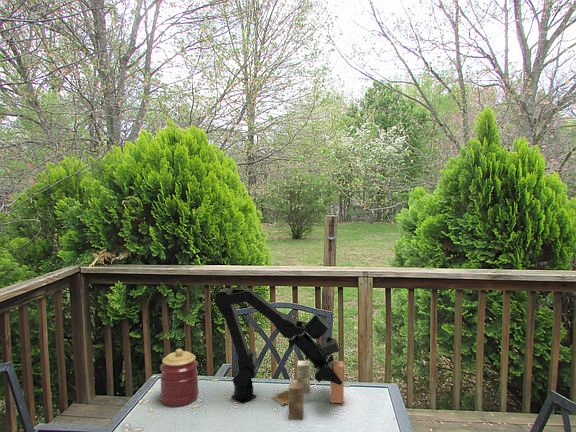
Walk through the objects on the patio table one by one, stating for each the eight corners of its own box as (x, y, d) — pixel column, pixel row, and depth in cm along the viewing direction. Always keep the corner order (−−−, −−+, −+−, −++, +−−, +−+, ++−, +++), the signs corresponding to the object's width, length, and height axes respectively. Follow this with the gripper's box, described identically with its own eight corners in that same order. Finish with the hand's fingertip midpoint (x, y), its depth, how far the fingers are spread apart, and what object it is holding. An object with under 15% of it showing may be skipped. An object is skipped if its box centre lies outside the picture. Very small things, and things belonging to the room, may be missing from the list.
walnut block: (288, 419, 124) (288, 388, 124) (290, 412, 129) (290, 382, 128) (302, 420, 124) (302, 388, 123) (303, 412, 128) (303, 382, 128)
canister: (192, 407, 132) (192, 356, 131) (154, 407, 132) (154, 355, 132) (202, 389, 145) (201, 342, 144) (167, 389, 145) (167, 342, 145)
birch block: (297, 392, 142) (297, 365, 142) (298, 387, 146) (298, 360, 146) (309, 393, 142) (309, 365, 141) (309, 387, 146) (309, 361, 146)
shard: (295, 391, 144) (295, 386, 144) (309, 399, 138) (309, 394, 138) (271, 400, 138) (271, 395, 137) (284, 409, 131) (284, 403, 131)
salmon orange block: (330, 402, 133) (330, 365, 133) (330, 396, 137) (330, 360, 137) (343, 403, 132) (343, 366, 132) (343, 396, 137) (343, 361, 136)
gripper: (325, 341, 125) (359, 376, 124) (326, 324, 144) (356, 354, 143) (300, 364, 126) (334, 399, 125) (304, 344, 145) (334, 375, 144)
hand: (341, 380), depth 134 cm, fingers closed on salmon orange block, 4 cm apart
